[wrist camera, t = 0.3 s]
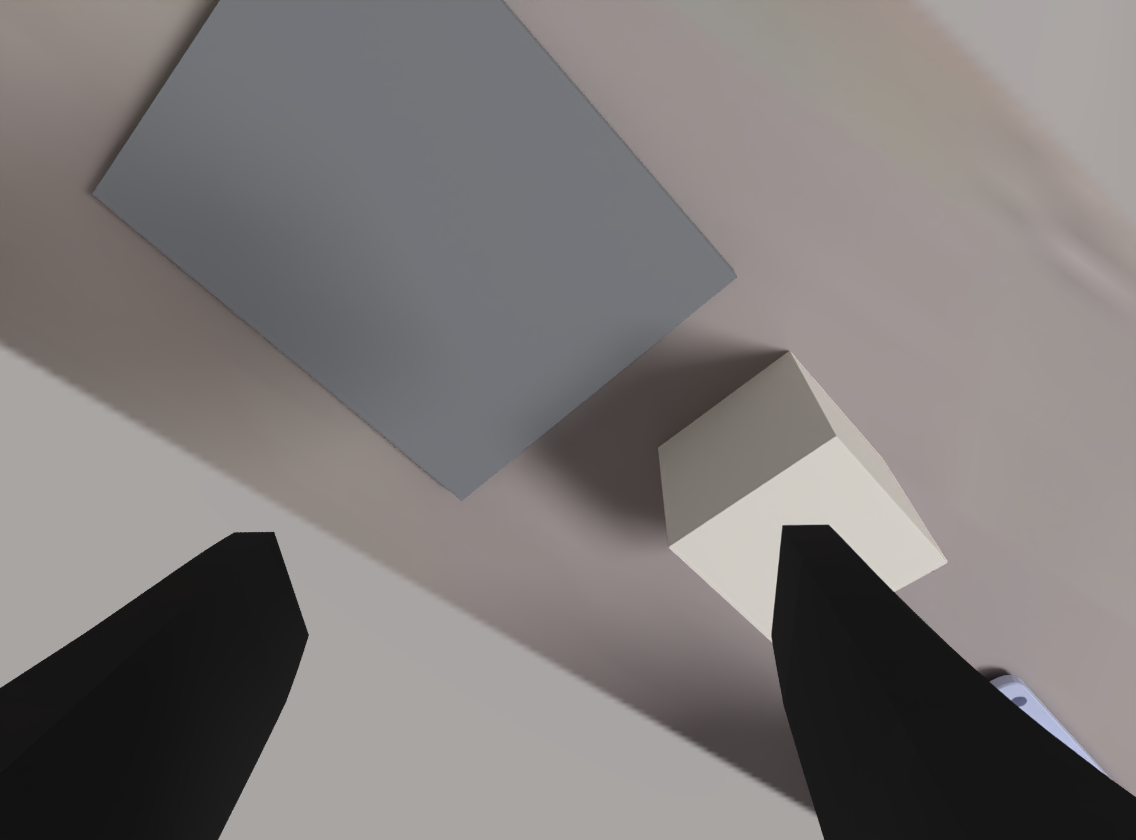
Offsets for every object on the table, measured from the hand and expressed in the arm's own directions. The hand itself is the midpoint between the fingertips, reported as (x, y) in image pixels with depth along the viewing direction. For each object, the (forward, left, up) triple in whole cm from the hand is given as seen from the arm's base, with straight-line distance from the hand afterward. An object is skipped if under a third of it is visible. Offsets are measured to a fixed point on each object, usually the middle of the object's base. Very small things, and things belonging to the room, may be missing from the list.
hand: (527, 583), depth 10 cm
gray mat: (+4, +1, -10) cm, 11 cm away
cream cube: (-7, -2, -10) cm, 12 cm away
